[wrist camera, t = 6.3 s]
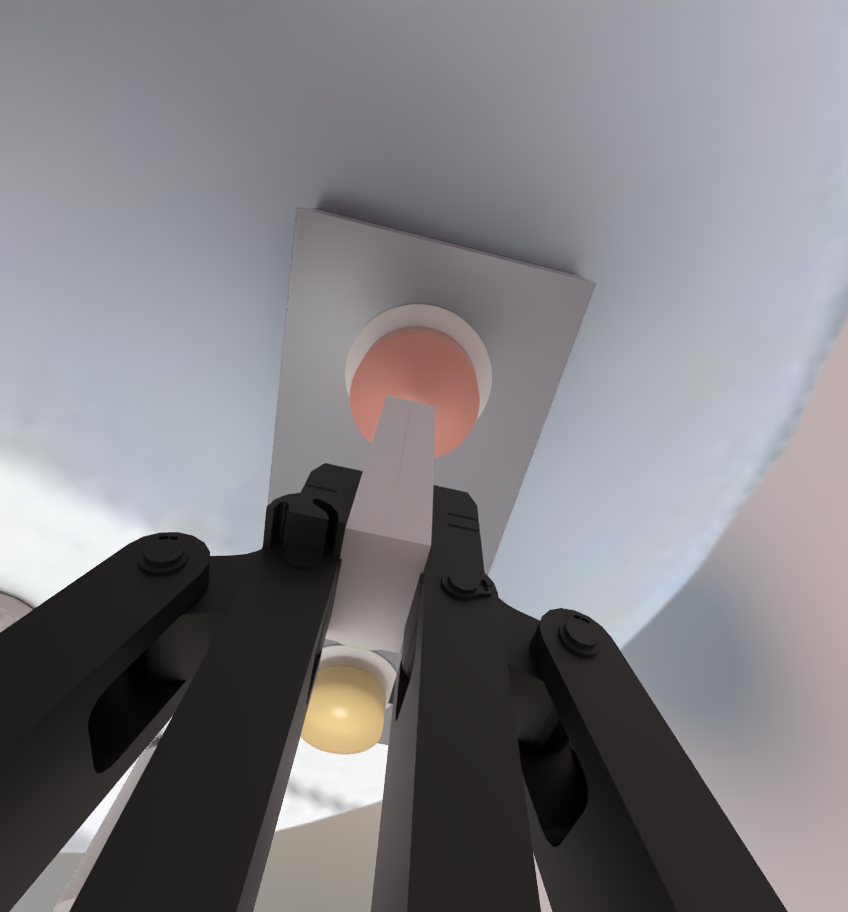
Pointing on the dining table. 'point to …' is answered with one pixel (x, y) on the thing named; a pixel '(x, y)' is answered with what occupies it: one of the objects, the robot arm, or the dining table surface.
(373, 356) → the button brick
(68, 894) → the can
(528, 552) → the dining table surface
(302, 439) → the console
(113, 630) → the robot arm
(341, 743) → the button ochre
